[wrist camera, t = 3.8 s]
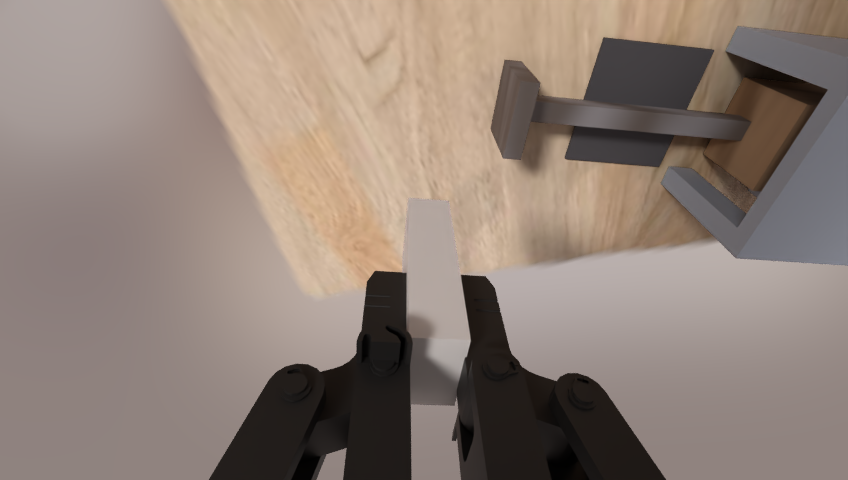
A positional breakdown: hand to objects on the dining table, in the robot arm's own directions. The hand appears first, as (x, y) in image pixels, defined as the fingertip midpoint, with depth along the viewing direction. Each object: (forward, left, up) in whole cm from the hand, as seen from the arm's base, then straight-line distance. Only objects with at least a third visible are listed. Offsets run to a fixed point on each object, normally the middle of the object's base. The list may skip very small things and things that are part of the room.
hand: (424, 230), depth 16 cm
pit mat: (+17, 0, -18) cm, 24 cm away
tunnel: (+27, 0, -18) cm, 32 cm away
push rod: (+18, 0, -18) cm, 25 cm away
